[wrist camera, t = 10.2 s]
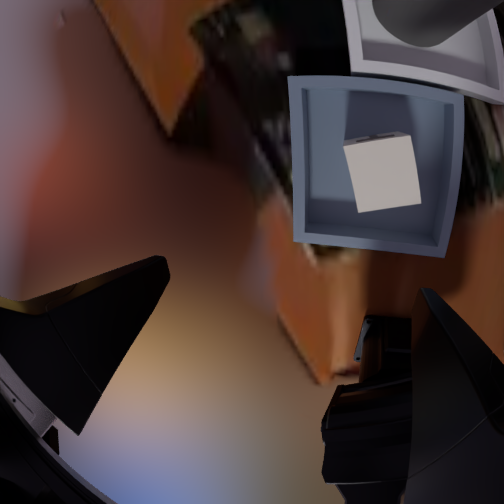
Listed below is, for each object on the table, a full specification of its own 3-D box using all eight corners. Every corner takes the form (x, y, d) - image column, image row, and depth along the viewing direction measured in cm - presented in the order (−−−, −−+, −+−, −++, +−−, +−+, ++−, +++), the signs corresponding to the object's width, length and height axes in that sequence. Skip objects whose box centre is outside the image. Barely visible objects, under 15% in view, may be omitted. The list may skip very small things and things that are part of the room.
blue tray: (436, 242, 18) (444, 257, 16) (299, 228, 22) (293, 241, 20) (450, 96, 12) (463, 95, 10) (295, 80, 16) (287, 76, 14)
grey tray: (493, 104, 11) (508, 104, 9) (351, 76, 15) (351, 70, 13) (469, -19, 5) (479, -29, 3) (331, -45, 9) (328, -60, 7)
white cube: (408, 185, 17) (421, 203, 13) (357, 193, 18) (358, 212, 15) (397, 130, 15) (410, 134, 12) (343, 139, 17) (342, 145, 14)
